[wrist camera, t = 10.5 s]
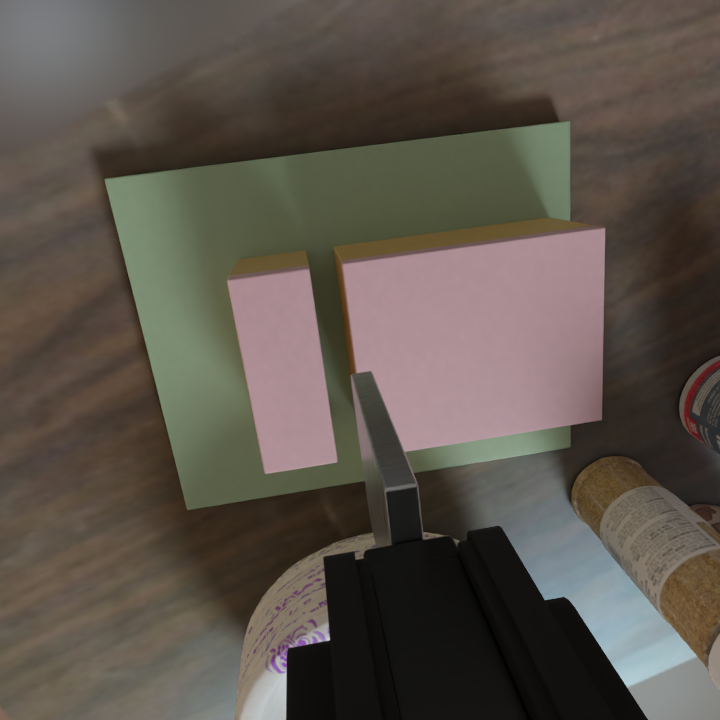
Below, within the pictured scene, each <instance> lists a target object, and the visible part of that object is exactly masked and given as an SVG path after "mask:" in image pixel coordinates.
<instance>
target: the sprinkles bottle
mask: <svg viewBox="0 0 720 720" xmlns="http://www.w3.org/2000/svg"><path fill="white" fill-rule="evenodd" d="M571 503H572V506H573V509H574V511H575V513H576V514H577V515H578V517H579V518H580V519H581V520H582V521H583V522H585V523H586V524H587V525H589V526H590V528H591V529H592V530H593V531H594V533H595V534H596V535H597V536H598V537H599V538H600V540H601V541H602V543H603V545H604V547H605V548H606V550H607V551H608V552H609V553H610V555H611V556H612V557H613V558H614V559H615V561H616V562H617V563H618V564H619V565H620V567H621V568H622V569H623V570H624V571H625V573H626V574H627V575H628V576H629V577H630V579H631V580H632V581H633V582H634V583H635V585H636V586H637V587H638V588H639V589H640V590H641V592H642V593H643V594H644V595H645V597H646V598H647V599H648V600H649V601H650V603H651V604H652V605H653V606H654V607H655V609H656V610H657V611H658V612H659V613H660V615H661V616H662V617H663V618H664V619H665V620H666V622H667V623H669V624H670V625H671V626H672V627H673V628H674V629H675V630H676V631H677V632H678V634H679V635H680V637H681V638H682V639H683V640H684V641H685V642H686V643H687V644H688V645H689V647H690V648H691V649H692V650H693V652H694V653H695V654H696V655H697V656H698V658H699V659H700V660H701V661H702V662H703V663H704V664H705V666H706V668H707V669H708V671H709V673H710V677H711V679H712V681H713V683H714V684H715V685H716V687H717V688H718V689H719V690H720V535H719V534H718V533H717V532H716V531H715V530H714V529H713V527H712V526H711V525H710V524H708V523H707V522H706V521H705V520H704V519H703V518H701V517H700V516H699V515H698V514H697V513H696V512H695V511H693V510H692V509H691V508H690V507H689V506H687V505H686V504H685V503H684V502H683V501H681V500H680V499H679V498H678V497H677V496H676V495H674V494H673V493H672V492H670V491H669V490H667V489H665V488H664V487H663V486H662V485H660V484H659V483H658V482H657V481H656V480H654V479H653V478H652V477H651V476H650V475H649V474H648V473H647V472H646V471H645V470H644V468H643V467H642V466H641V465H640V464H639V463H638V462H636V461H635V460H633V459H630V458H628V457H622V456H610V457H604V458H601V459H599V460H597V461H596V462H594V463H592V464H590V465H589V466H587V467H586V468H585V469H584V470H583V471H582V472H581V473H580V474H579V475H578V476H577V478H576V480H575V482H574V485H573V489H572V492H571Z"/></svg>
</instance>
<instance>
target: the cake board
mask: <svg viewBox="0 0 720 720" xmlns="http://www.w3.org/2000/svg"><path fill="white" fill-rule="evenodd" d="M105 184H106V188H107V192H108V196H109V200H110V204H111V208H112V212H113V216H114V220H115V224H116V228H117V232H118V236H119V240H120V244H121V248H122V252H123V256H124V260H125V264H126V267H127V271H128V275H129V279H130V283H131V287H132V291H133V295H134V299H135V303H136V307H137V311H138V315H139V319H140V323H141V327H142V331H143V335H144V339H145V343H146V347H147V351H148V355H149V359H150V363H151V367H152V371H153V375H154V379H155V383H156V387H157V391H158V395H159V399H160V403H161V407H162V411H163V415H164V419H165V423H166V427H167V431H168V435H169V439H170V443H171V447H172V451H173V455H174V459H175V463H176V467H177V471H178V475H179V479H180V483H181V487H182V491H183V495H184V499H185V503H186V507H187V510H192V509H198V508H204V507H210V506H216V505H222V504H228V503H235V502H241V501H247V500H253V499H259V498H265V497H271V496H277V495H283V494H289V493H296V492H302V491H308V490H314V489H320V488H326V487H332V486H338V485H344V484H350V483H356V482H363V481H365V480H364V473H363V465H362V458H361V451H360V443H359V436H358V428H357V421H356V414H355V408H354V401H353V393H352V386H351V378H350V371H349V363H348V356H347V348H346V341H345V333H344V326H343V318H342V311H341V303H340V296H339V288H338V281H337V273H336V266H335V258H334V251H333V247H334V246H341V245H349V244H356V243H364V242H371V241H378V240H386V239H393V238H400V237H408V236H415V235H422V234H430V233H437V232H445V231H452V230H459V229H467V228H474V227H481V226H489V225H496V224H504V223H511V222H518V221H526V220H533V219H540V218H548V217H550V218H556V219H561V220H567V221H570V121H563V122H555V123H546V124H538V125H530V126H522V127H514V128H506V129H498V130H490V131H482V132H474V133H466V134H458V135H450V136H442V137H434V138H426V139H418V140H410V141H402V142H394V143H386V144H377V145H369V146H361V147H353V148H345V149H337V150H329V151H321V152H313V153H305V154H297V155H289V156H281V157H273V158H265V159H257V160H249V161H241V162H233V163H225V164H217V165H209V166H200V167H192V168H184V169H176V170H168V171H160V172H152V173H144V174H136V175H128V176H120V177H112V178H106V179H105ZM297 251H306V253H307V258H308V264H309V270H310V277H311V284H312V290H313V297H314V304H315V311H316V317H317V324H318V331H319V338H320V344H321V351H322V358H323V365H324V371H325V378H326V385H327V392H328V398H329V405H330V412H331V419H332V425H333V432H334V439H335V446H336V452H337V459H338V461H337V462H336V463H330V464H324V465H318V466H312V467H306V468H299V469H293V470H287V471H281V472H275V473H268V474H265V473H264V469H263V464H262V459H261V454H260V448H259V443H258V438H257V433H256V428H255V423H254V418H253V413H252V408H251V402H250V397H249V392H248V387H247V382H246V377H245V372H244V367H243V362H242V357H241V351H240V346H239V341H238V336H237V331H236V326H235V321H234V316H233V311H232V305H231V300H230V295H229V290H228V285H227V279H228V277H229V275H230V273H231V272H232V270H233V268H234V267H235V265H236V263H237V262H238V260H239V259H246V258H253V257H260V256H268V255H275V254H282V253H290V252H297ZM570 447H571V425H568V426H562V427H556V428H549V429H543V430H537V431H531V432H525V433H518V434H512V435H506V436H500V437H494V438H487V439H481V440H475V441H469V442H463V443H456V444H450V445H444V446H438V447H432V448H425V449H419V450H413V451H407V452H405V454H406V456H407V459H408V461H409V463H410V466H411V468H412V471H413V473H417V472H424V471H430V470H436V469H442V468H448V467H454V466H460V465H466V464H472V463H478V462H485V461H491V460H497V459H503V458H509V457H515V456H521V455H527V454H533V453H539V452H546V451H552V450H558V449H564V448H570Z"/></svg>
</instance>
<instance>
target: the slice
mask: <svg viewBox="0 0 720 720" xmlns="http://www.w3.org/2000/svg"><path fill="white" fill-rule="evenodd" d="M227 285H228V290H229V295H230V300H231V305H232V311H233V316H234V321H235V326H236V331H237V336H238V341H239V346H240V351H241V357H242V362H243V367H244V372H245V377H246V382H247V387H248V392H249V397H250V402H251V408H252V413H253V418H254V423H255V428H256V433H257V438H258V443H259V448H260V454H261V459H262V464H263V469H264V473H265V474H268V473H275V472H281V471H287V470H293V469H299V468H306V467H312V466H318V465H324V464H330V463H336V462H337V461H338V459H337V452H336V446H335V439H334V432H333V425H332V419H331V412H330V405H329V398H328V392H327V385H326V378H325V371H324V365H323V358H322V351H321V344H320V338H319V331H318V324H317V317H316V311H315V304H314V297H313V290H312V284H311V277H310V270H309V264H308V258H307V253H306V251H297V252H290V253H282V254H275V255H268V256H260V257H253V258H246V259H239V260H238V262H237V263H236V265H235V267H234V268H233V270H232V272H231V273H230V275H229V277H228V279H227Z"/></svg>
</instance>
